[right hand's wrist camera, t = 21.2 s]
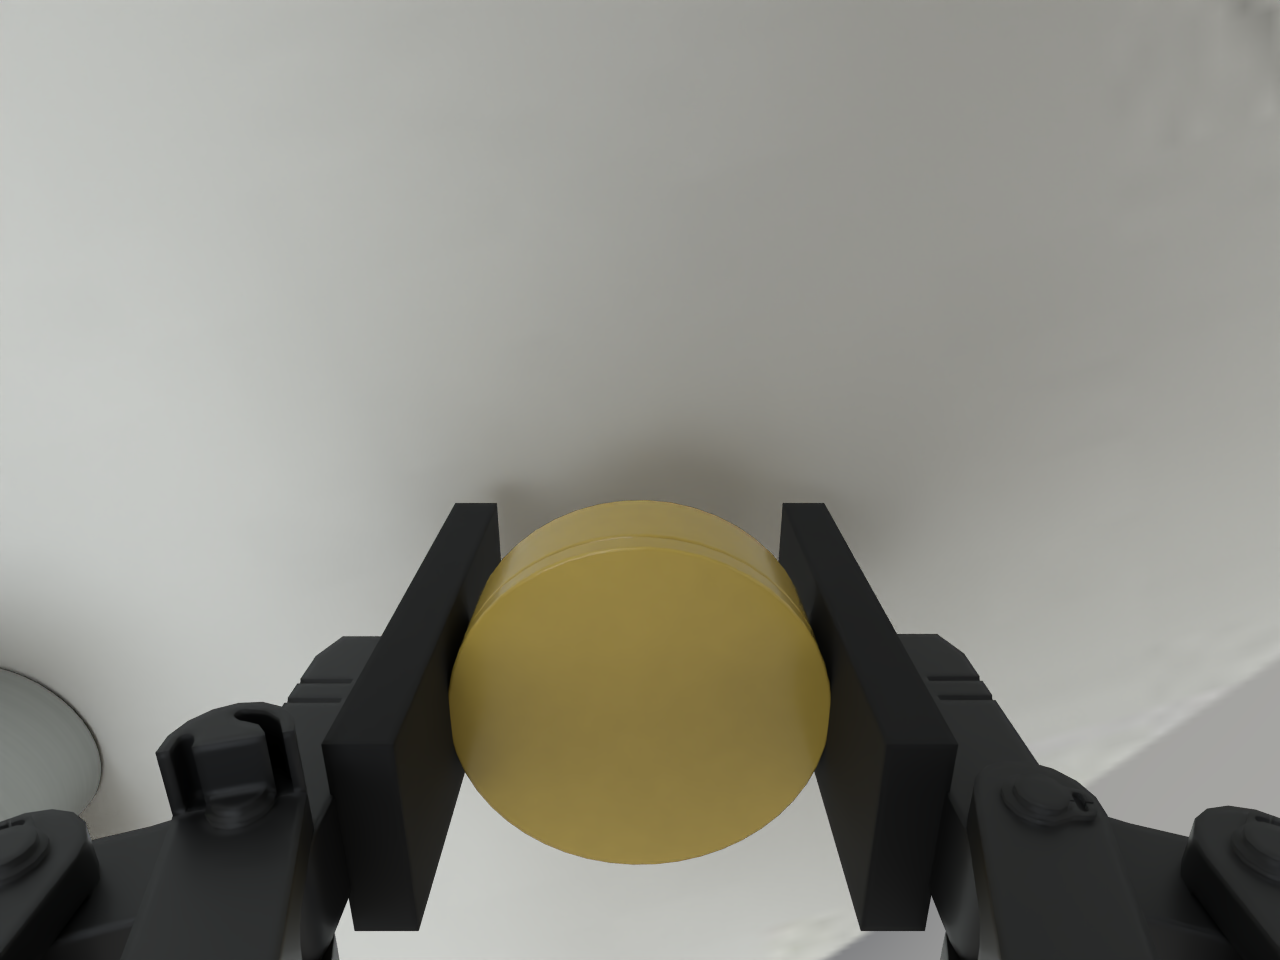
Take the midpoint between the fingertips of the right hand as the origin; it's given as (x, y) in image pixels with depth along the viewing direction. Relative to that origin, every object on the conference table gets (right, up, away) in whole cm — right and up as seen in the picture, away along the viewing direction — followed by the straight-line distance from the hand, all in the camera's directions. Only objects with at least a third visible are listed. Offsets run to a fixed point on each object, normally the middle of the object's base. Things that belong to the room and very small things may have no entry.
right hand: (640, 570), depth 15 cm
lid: (0, -1, -4) cm, 4 cm away
